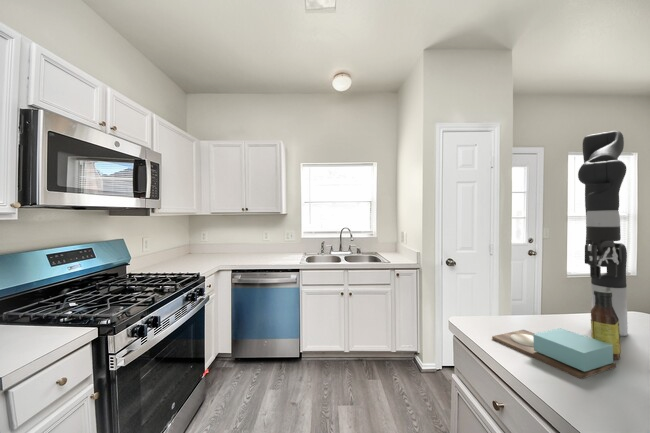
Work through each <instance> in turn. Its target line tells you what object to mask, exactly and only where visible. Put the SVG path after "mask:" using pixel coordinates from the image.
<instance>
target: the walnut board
mask: <svg viewBox="0 0 650 433" xmlns="http://www.w3.org/2000/svg"><path fill="white" fill-rule="evenodd" d="M533 334H535V333H534V332H531V331H528V330H526V329H520V330H515V331H512V332H506V333H501V334H497V335H496V334H495V335H492V337H491V339H492V340H493V341H496V342H498V343H500V344H502V345H504V346H506V347H508V348H511V349H513V350H516V351H518V352H520V353H523V354H525V355H527V356H529V357H531V358H534V359H536V360H537V361H540V362H542V363H545V364H547V365H549V366H551V367H554V368H556V369H557V370H561V371H562V372H565V373H567V374H569V375H572V376H573V377H576V378H578V379H584V378H585V379H586V378H587V377H591V376H593V375H596V374H599V373H603V372H605V371H608V370H611V369H614V368H617V363H615V362H613V363H611V364H607V365H604V366H601V367H598V368H595V369H592V370H589V371H586V372H584V371H581V370H579V369H577V368H574V367H572V366H570V365H567V364H565V363H563V362H560V361H558V360H556V359H553V358H551V357H548V356H546V355H544V354H541V353H539V352H537V351H534V339H533Z"/></svg>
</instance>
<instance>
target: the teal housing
mask: <svg viewBox="0 0 650 433" xmlns="http://www.w3.org/2000/svg"><path fill="white" fill-rule="evenodd" d="M533 339H534V351H537V352H539V353H541V354H544V355H546V356H548V357H551V358H553V359H556V360H558V361H560V362H563V363H565V364H567V365H570V366H572V367H574V368H577V369H579V370H581V371H584V372H586V371H589V370H592V369H595V368H598V367H601V366H604V365H607V364H611V363H614V359H613V345H611V344H608V343H605V342H602V341H599V340H596V339H593V338H592V337H589V336H586V335H583V334H579V333H576V332H574V331H570V330H568V329H565V328H562V327H561V328H560V327H559V328H555V329H550V330H546V331H542V332H538V333H534V334H533Z"/></svg>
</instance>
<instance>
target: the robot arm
mask: <svg viewBox="0 0 650 433" xmlns="http://www.w3.org/2000/svg"><path fill="white" fill-rule="evenodd" d="M624 146H625V140H624V135H623V133H622V132H621V131H619V130H610V131H606V132H605V131H604V132H599V133H598V132H597V133H594V134H589V135H586V136H584V138H583V140H582V155H583V157H582V158H583V164H581V166H580V167H579V169H578V171H577V172H578V173H577V177H578V180H579V182H580V183H582V184H583V185H584V187H585V188H584V207H585V225H586V226H585V230H586V231H585V233H586V234H585V244H584V264H585V265H588V266H589V273H590V282H591V284H590V288H591V289H590V290H591V291H590V292H591V309H592V308H593V307H594V306H595V295H594V290H605V291H610V292H612V297H611V298H612V307H613V309H614V311H615V313H616V315H617V317H618V319H619V330H620V337H624V336H625V337H626V336H629V333H628V332H629V330H628V327H629V326H628V324H629V323H628V292H627V291H628V289H627V288H628V287H627V285H628V284H627V261H628V258H627V257H628V251H627V247H626V245H625V244H624V243H622V242H619V241H621V239H622V238H621V215H620V211H619V208H620V190H621V187H622V185H623V182H624V179H625V176H626V174H627V165H626V164H625V162H624V161H622V160H620V159H618V158H619V157H620V156H621V154H622V153H623V150H624ZM601 268H606V273H602V271H601Z"/></svg>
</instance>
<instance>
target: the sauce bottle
mask: <svg viewBox="0 0 650 433" xmlns="http://www.w3.org/2000/svg"><path fill="white" fill-rule="evenodd" d="M594 295H595V306H594V307H593V308H592V307H591V309H590V329H591V331H590V332H591V338H593V339H596V340H599V341H602V342H605V343H608V344H611V345H613V360H620V359H621V353H622V350H621V336H620V330H619V319H618V317H617V315H616V313H615V311H614V309H613V307H612V298H611V297H612V292H610V291H605V290H594Z"/></svg>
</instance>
